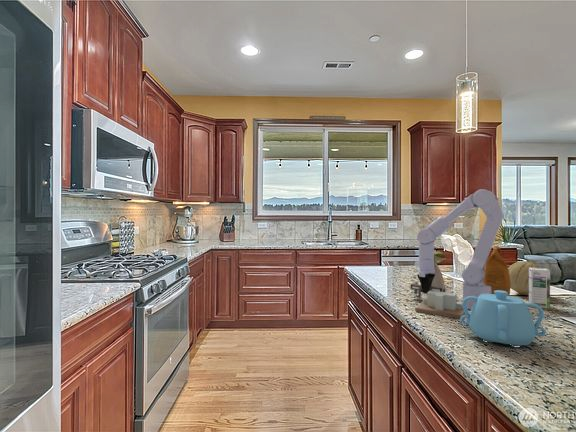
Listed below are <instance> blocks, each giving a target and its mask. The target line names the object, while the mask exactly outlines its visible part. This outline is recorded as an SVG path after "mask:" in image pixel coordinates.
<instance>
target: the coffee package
mask: <svg viewBox="0 0 576 432" xmlns="http://www.w3.org/2000/svg"><path fill="white" fill-rule="evenodd" d="M492 249H493V251H492V252H491V254H490V256H488V259H487V261H486V266H485V277H484V278H483V279H482V280H483V282H484V283H485V285H486V286H491V290H492V294H495V293H494V291H496V290H501V291H506V292H508V295H507V296H511V283H510V275H509V269H508V268H509V266H508V264H507V263H506V262H505V260H504V259H503V257H502V256H501V255H500V253H501V252H502V249H501V248H500V247H499V246H498V245H496V246H492Z"/></svg>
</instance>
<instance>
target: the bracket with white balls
mask: <svg viewBox="0 0 576 432" xmlns="http://www.w3.org/2000/svg"><path fill="white" fill-rule="evenodd" d="M445 288H446V285H443V286H441V287H433V286H430V288H429V291H430V290H431V291H438V292H445ZM410 290H414V291H413V293H414V295H418V298H419V299H420V298H422V287H421V284H418V282H416V281H414V282H413V283H411V284H410Z"/></svg>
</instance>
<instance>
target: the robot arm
mask: <svg viewBox="0 0 576 432" xmlns="http://www.w3.org/2000/svg"><path fill="white" fill-rule="evenodd" d="M478 208H479V209H481V210H482V212H483V213H484V215H485V216H486V219H485V222H484V225H483V227H482V230H481V233H480V235H479V239H478V241H477V243H476V246H475V249H474V251H473V255H472V257H471V258H470V261H469V262H468V264H467V267H466V268H465V269H463V271H462V272H461V278H462V280H463V281H462V300H463V299H464V298H466V297H468V296H475V297H477V298H478V297H479V295H481V294H492V290H491V286H486V285H485V283H484V282H483V280H482V279H483V278H484V277H485V267H486V264H487V261H488V259H489V257H490V256H489V255H490V253H491V251H492V249H493V247H494V246H493V245H494V242H495V239H496V238H497V235H498V231H499V230H500V227H501V225H502V222H503V219H504V212H503V209H502V206H501V204H500V199H499V197H497V195H496V194H495V193H494V192H493V191H491V190H488V189H484V188H483V189H478V190H476V191H475V192H473V194H470V195H468V196H467V197H466V198H465V199H463V200H462V201H461V202H460V203H458V205H456V207H454V208H453V209H452V210H450V212H449V213H447V214H446V215H445V216H439V217H438V216H436V217H435V218H434V219H433V220H434V221H432V222H431V223H429V224H428V225H427V224H426V226H424V228H422V229H420V230H419V231H418V233H417V235H416V239H417V241H418V245H419V246H418V268H416V269H415V271H417V272H419V274H417V279H418V280H419V282H420V285H421V287H422V290H421V293H424V294H427V292H429V288H430V286H431V285H432V281H433V279H434V277H435V274H431V273H434V272H435V270H434V251H435V241H436V240H437V238H439V237H441V235H442V234H444V233H445V232H447V230H449V229H450V228H451V226H452V222H453V221H455V220H457V219H458V218H459V217H460V216H462V215H463V214H465V213H466V212H467V211H469V210H473V209H478ZM475 302H476V300H467V301H466V306H467V310H470V311H471V310H472V307H473V305H474V303H475Z"/></svg>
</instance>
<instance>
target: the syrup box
mask: <svg viewBox="0 0 576 432" xmlns="http://www.w3.org/2000/svg"><path fill="white" fill-rule="evenodd" d="M528 303H534V304H537V305H539V306H540V307H541V308H542V309H551V270H550V269H549V268H544V267H543V268H542V267H541V268H531V267H529V295H528Z"/></svg>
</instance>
